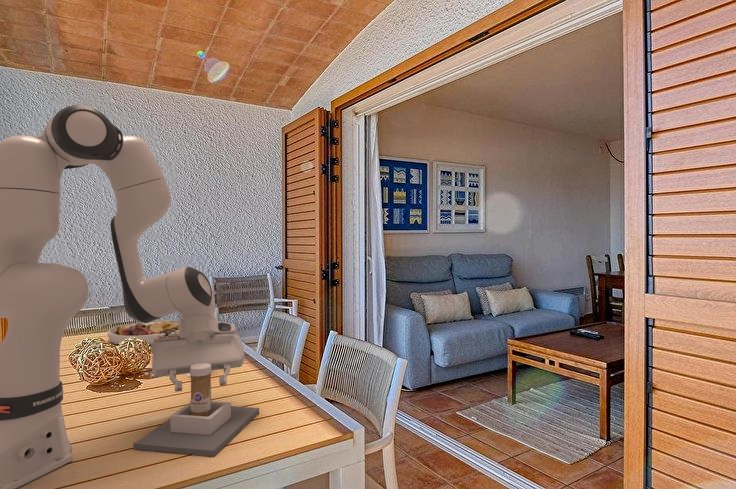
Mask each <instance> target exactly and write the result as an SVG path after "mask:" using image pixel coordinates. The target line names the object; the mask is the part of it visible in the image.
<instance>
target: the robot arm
mask: <svg viewBox="0 0 736 489" xmlns="http://www.w3.org/2000/svg"><path fill="white" fill-rule="evenodd" d="M92 164H93V165H95V166H97V167H98V168H99V169H100V170H102V172H104V174H105V176H106V177H107V178H108V180H109V184H110V185H111V188H112V191H113V193H114V196H115V199H116V200H115V201H116V211H115V215H114V216H113V217H112V218H111V220H110V233H111V239H112V245H113V251H114V255H115V259H116V263H117V264H116V265H117V269H118V272H119V277H120V282H121V286H122V296H123V297H122V299H123V304H124V305H123V306H124V308H125V311H126V314H127V315H128V316H129V317H130V318H132V320H135V321H137V322H142V323H149V322H152V321H157V320H159V319H161V318H163V317H165V316H168V315H172V314H175V313H177V312H178V315H179V320H178V321H179V336H177V337H169V338H159V339H158V340H156V341H154V342H153V343H152V345H150V353H151V355H153V356H152V364H151V368H152V370H151V372H152V374H153V376H155V377H156V378H158V377H159V378H161V377H167V376H168V377H169V380H170V382H171V383H172V384H173V385H174V393H177V392H182V391H183V381H182V380H178V379H177V376H178V375H183V374H186V375H187V373H190V367H191V366H192V365H195V364H202V363H208V364H211V371H219V370H223V375H219V377H218V381H219V386H220V387H222V386H227V384H228V383H227V378H228V376H229V374H230V372H231V369H233V368H234V369H235V368H241V367H242V366H243V365H244V363H245V358H246V355H245V349H244V344H243V342H242V339H241V337H240V336H239V335H238V334H237V327H236V324H234V323H231V322H224V321H219V320H217V318H216V316H215V312H216V303H215V296H214V293H213V288H212V285H211V282H210V281H209V279H208V277H207V276H206V275H205V273H203V272H201V271H200V270H198V269H196V268H195V267H191V266H187V267H182V268H178V269H175V270H172V271H168V272H166V273H163V274H160V275H157V276H154V277H151V278H150V277H149V278H146V277H145V276H144V273H143V268H142V263H141V259H140V258H141V257H140V253H139V249H138V243H139V240H140V237H141V236H142V234H144V233H145V232H146V230H148V229H149V228H151V227H152V226H153V225H155V224H156V223H157V222H159V220H161V219H162V218H163V217H164V216H165V214H166V213H167V211H168V210H169V208H170V205H171V201H172V200H171V199H172V198H171V192H170V189H169V186H168V183H167V180H166V178H165V176H164V172H163V171H162V168H161V166H160V164H159V162H158V160H157V159H156V157H155V155H154V153H153V151H152V149H151V148H150V146H149V145H148V143H147V142H146V140H144V139H143V138H141V137H139V136H136V135H130V134H129V135H128V134H127V135H124V134H123V132H122V131H121V129H119V128H118V127H117V126H116V125H115V124H113V123H112V122H111V120H110V119H109V118H108V117H107V116H105V114H104V113H102V112H101V111H100V110H98V109H96V108H94V107H93V106H89V105H87V104H86V105H85V104H73V105H69V106H66V107H63V108H62V109H60V110H58V111H57V112H56V113H55V115H54V116H52V118H51V119H50V120H49V121H48V122H47V124H46V126H45V128H44V129H43V131H42V132H41V134H40V135H37V136H36V135H35V136H31V135H25V134H23V135H13V136H9V137H7V138H5V139H3V140H2V141H1V142H0V319H8V326H7V330H6V331H7V332H6V334H5V336H4V339H3V340H2V341H1V342H0V489H18V488H20V487H21V486H23V485H25V484H28V483H30V482H32V481H34V480H36V479H38V478H40V477H42V476H44V475H46V474H48V473H51V472H52V471H54V470H56V469H58V468H60V467H62V466H64V465H66V464H69V463H70V462H72V460H73V456H72V453H71V451H72V444H71V443H70V440H69V437H68V433H67V430H66V428H67V427H66V423H65V418H64V413H63V410H62V401H64V400H63V399H64V389H63V388H64V387H63V382H62V381H61V376H60V375H61V374H60V373H61V372H60V371H61V370H60V369H61V365H60V364H61V360H60V359H61V358H60V357H61V356H60V355H61V353H60V352H61V344H62V339H63V335H64V333H65V330H66V328H67V326H68V324H69V322H70V321H71V319H72V318H73V317H74V316H75V315H77V314H78V313H79V312H80V311H81V310H82V309H83V307H84V306H85V304H86V302H87V300H88V297H89V283H88V280H87V278H86V276H85V275H84V274H83V273H82V271H80V270H78V269H76V268H73V267H69V266H67V265H62V264H58V263H54V262H51V263H50V262H39V259H40V257H41V254H42V251H43V249H44V248H45V246H46V245H47V244H48V243H49V242H50V241H51V240H53V239H54V238H56V236H57V234H58V233H59V230H60V214H61V213H60V212H61V178H62V174H63V171H64V170H70V169H77V168H82V167H85V166H89V165H92Z"/></svg>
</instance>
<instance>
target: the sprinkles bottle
mask: <svg viewBox="0 0 736 489" xmlns="http://www.w3.org/2000/svg"><path fill="white" fill-rule="evenodd" d="M211 375H212V370H211V364H208V363H202V364H195V365H192V366H191V367H190V376H191V377H190V376H189V377H190V402H191V416H204V417H208V416H210V415H211V401H212V383H211V382H212V379H211V378H212V376H211Z"/></svg>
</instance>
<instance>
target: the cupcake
mask: <svg viewBox="0 0 736 489" xmlns="http://www.w3.org/2000/svg"><path fill="white" fill-rule="evenodd" d="M177 336H179V335H178V334H177V333H176V330H175V329H169V331H167V330H165V329H163V331H162V332H161V333H160V335H159V336H157V337H156V338H155V339H154V341H156V340H158V339H159V338H169V337H177Z"/></svg>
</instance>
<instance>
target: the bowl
mask: <svg viewBox="0 0 736 489" xmlns="http://www.w3.org/2000/svg"><path fill="white" fill-rule="evenodd" d="M179 321H180V320H166V319H165V320H154V321H152V322H149V323H142V322H139V321H137V322H131V323H127V324H123V325H117V326H115V327H112V328H110V329H108V331H107V336H108V339H109V341H110V342H112V343H113V344H115V345H117V344H119V343H121V342H122V341H124V340H125V339H127V338H130V337H135V338H138V339H140V340H144V341H146V342H147V343H148V344H149V345H150V346H151V345H152V343H153V342H154V339H155V338H156V337H157V336H159V335H160V333H161V332H162V331H163V329H165V330H167V331H169V329H175V330H176V333H177V334H178V335H179Z"/></svg>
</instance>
